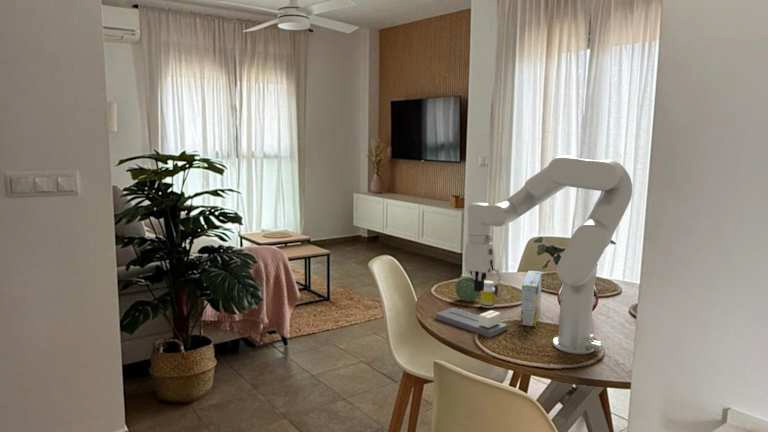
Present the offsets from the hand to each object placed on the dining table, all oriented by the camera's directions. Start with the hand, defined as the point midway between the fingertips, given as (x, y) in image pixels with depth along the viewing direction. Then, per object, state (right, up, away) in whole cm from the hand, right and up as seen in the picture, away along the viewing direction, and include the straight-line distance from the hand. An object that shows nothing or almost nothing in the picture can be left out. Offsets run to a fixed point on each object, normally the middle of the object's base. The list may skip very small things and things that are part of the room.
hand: (479, 290), depth 180 cm
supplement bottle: (+8, -10, +24) cm, 27 cm away
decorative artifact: (+1, -9, +28) cm, 30 cm away
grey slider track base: (-2, -13, +4) cm, 13 cm away
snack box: (+21, -12, +12) cm, 27 cm away
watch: (+13, -7, +43) cm, 45 cm away
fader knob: (+3, -11, -2) cm, 12 cm away
